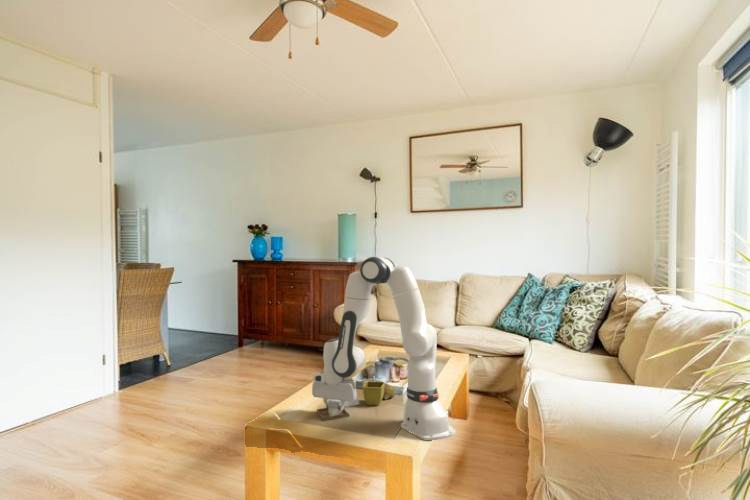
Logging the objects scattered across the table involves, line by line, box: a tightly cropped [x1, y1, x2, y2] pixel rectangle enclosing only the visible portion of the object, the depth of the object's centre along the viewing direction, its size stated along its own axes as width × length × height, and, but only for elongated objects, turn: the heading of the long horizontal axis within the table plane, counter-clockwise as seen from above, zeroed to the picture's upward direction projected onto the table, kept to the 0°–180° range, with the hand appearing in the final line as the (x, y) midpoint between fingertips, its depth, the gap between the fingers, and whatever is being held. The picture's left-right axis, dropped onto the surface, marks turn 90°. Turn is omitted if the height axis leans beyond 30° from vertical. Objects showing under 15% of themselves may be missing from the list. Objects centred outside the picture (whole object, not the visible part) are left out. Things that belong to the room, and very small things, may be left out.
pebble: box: [328, 399, 342, 414], centre depth 172 cm, size 4×4×4 cm
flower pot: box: [362, 380, 386, 406], centre depth 183 cm, size 9×9×9 cm
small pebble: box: [329, 408, 339, 417], centre depth 167 cm, size 3×3×3 cm
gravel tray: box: [316, 407, 350, 422], centre depth 170 cm, size 11×11×2 cm
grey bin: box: [331, 397, 360, 408], centre depth 184 cm, size 10×10×3 cm
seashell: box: [381, 384, 396, 401], centre depth 191 cm, size 10×7×8 cm
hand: (334, 409), depth 172 cm, fingers closed on pebble, 5 cm apart
